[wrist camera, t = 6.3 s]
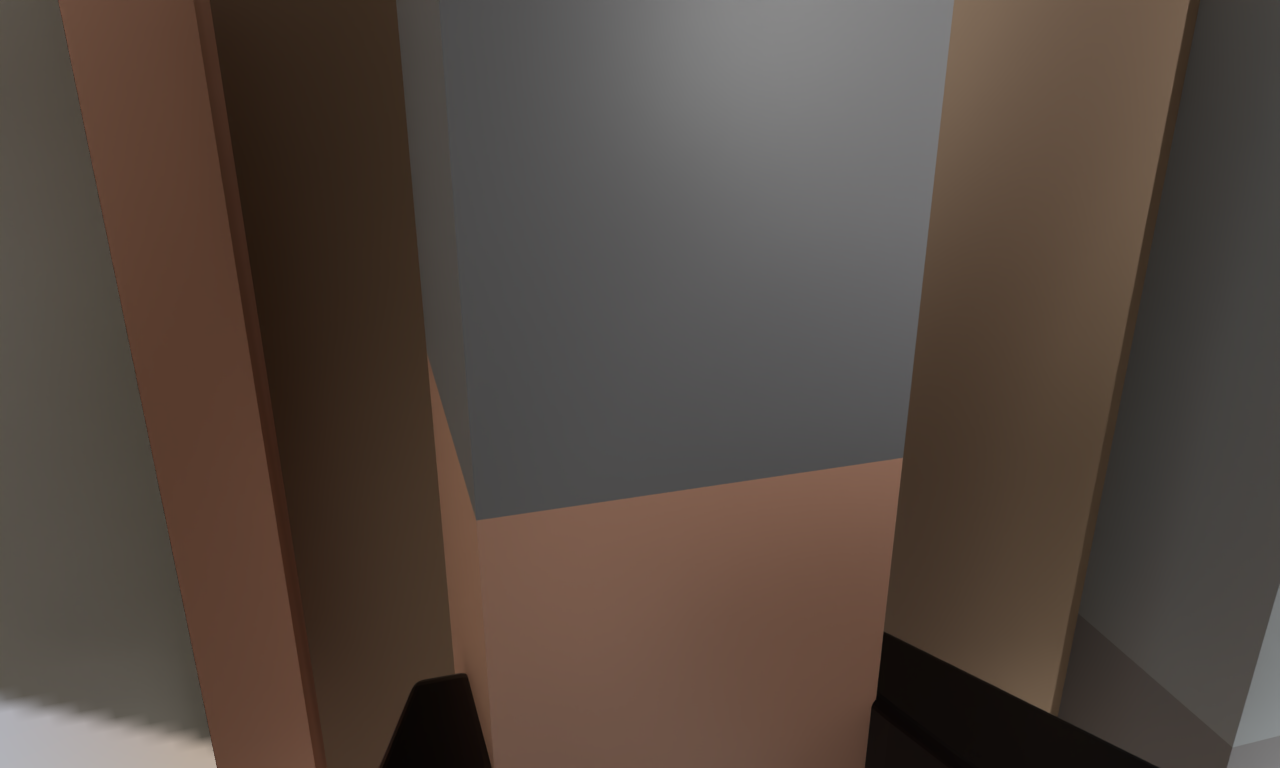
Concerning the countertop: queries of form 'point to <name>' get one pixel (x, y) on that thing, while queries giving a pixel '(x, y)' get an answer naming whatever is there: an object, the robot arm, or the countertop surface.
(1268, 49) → the grey square bar
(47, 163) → the countertop surface
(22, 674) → the countertop surface
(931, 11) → the two-tone eraser
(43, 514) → the countertop surface
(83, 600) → the countertop surface
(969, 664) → the cord caddy
